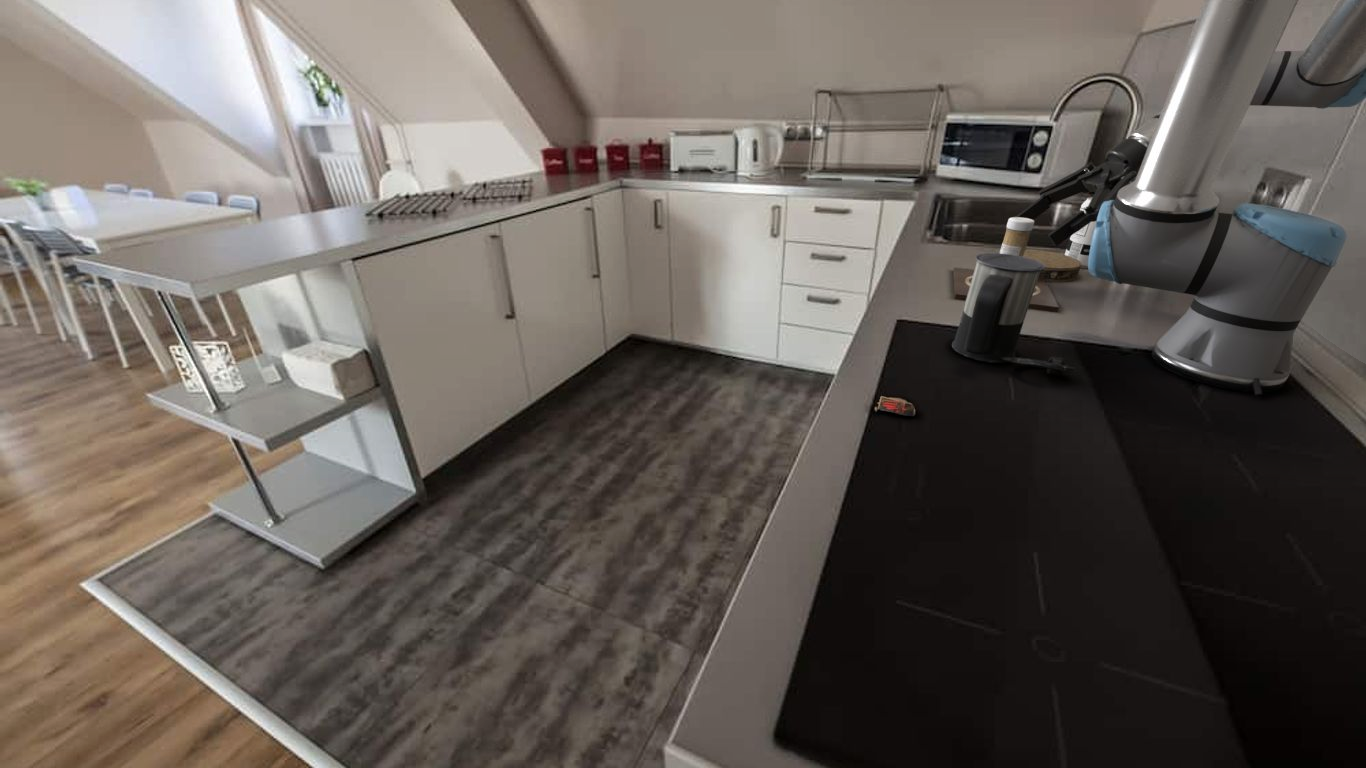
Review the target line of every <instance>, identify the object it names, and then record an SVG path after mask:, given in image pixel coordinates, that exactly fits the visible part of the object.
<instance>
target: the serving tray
mask: <svg viewBox="0 0 1366 768" xmlns="http://www.w3.org/2000/svg"><path fill="white" fill-rule="evenodd" d="M974 270H975V269H972V268H963V267H953V270H952V273H953V274H952V275H953V291H954V293H953V294H954V300H962V301H966V299H967V295H968V292H969V288H970V284H971V281H972V277H973V274H974ZM1028 309H1032V310H1037V311H1046V312H1052V313H1053V312H1054V313H1058V312H1059V309H1060V305H1059V304H1058V301H1057V300H1056V297H1055V296H1054V294H1053V293H1052V291H1051V288H1050V287H1049V285H1048V283H1047V281H1045V279H1044V278H1042V277H1038V280H1037V283H1036V286H1035V289H1034V293H1033V295H1032V298H1031V301H1030V304H1029V307H1028Z"/></svg>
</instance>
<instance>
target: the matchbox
mask: <svg viewBox="0 0 1366 768" xmlns="http://www.w3.org/2000/svg"><path fill="white" fill-rule="evenodd" d="M879 398H880V399H879V402H877V404H878V406H875V407H874V411H875V412H877V411H878V410H880V411H883V412H884V411H885V412H891V413H894V414H898V415H903V416H908V417H909V416H910V417H914V416H915V415H916V409H915V406H914V405H913V403H911V402H908V401H907V400H906V399H902V398H901V397H886V396H882V395H881V396H880V397H879Z"/></svg>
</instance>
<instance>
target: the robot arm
mask: <svg viewBox="0 0 1366 768" xmlns="http://www.w3.org/2000/svg"><path fill="white" fill-rule="evenodd" d="M1298 3H1299V0H1203V1H1202V4H1201V6H1200V9H1199V12H1198V14H1197V17H1196V19H1195V22H1194V25H1193V27H1192V30H1191V32H1190V35H1189V37H1188V40H1187V43H1186V46H1185V49H1184V51H1183V54H1182V56H1181V59H1180V61H1179V64H1178V66H1177V69H1176V71H1175V75H1174V77H1173V80H1172V83H1171V86H1170V88H1169V90H1168V93H1167V96H1166V99H1165V101H1164V104H1163V106H1162V109H1161V111H1159V112H1158V113H1157V114H1156V115H1154V116H1153V117H1152V118H1149V119H1148V120H1146V122H1144V123H1143V124H1142V125H1141V126H1139V127H1138V128H1137V129H1135V130H1134V131H1132V132H1131V133H1130V134H1129V135H1128V136H1127V138H1124V139H1122V140H1121V141H1120V142H1118V143H1117V144H1116V145H1115V146H1113V147H1112V148H1110V149H1109V150H1108V151H1107V152H1106V154H1105V161H1104V162H1103V163H1101V164H1100V165H1098V166H1095V164H1094V163H1093V162H1092V161H1090V162H1087V164H1085V165H1083V166H1082V167H1081V168H1079V169H1078V170H1076V171H1074V172H1072V173H1070V174H1069V175H1066V176H1064V177H1063V178H1060V179H1059V180H1057V181H1055V182H1053V183H1051V184H1049V185H1047V186H1045V187H1044V188H1041V189H1040V190H1039V191H1038V194H1039V198H1038V199H1037V200H1035V201H1034V202H1033V203H1031V204H1030V205H1029V206H1028V207H1027V208H1025V209H1024V210H1023V211H1021V212H1020V213H1018V214H1017V215H1016V216H1015V217H1022V218H1028V219H1032V220H1034V221H1035V220H1036V218H1038V217H1039V216H1040V215H1042V214H1044V212H1046V211H1047V210H1049V209H1051V207H1052V205H1053V204H1055V203H1058V202H1060V201H1063V200H1065V199H1068V198H1071V197H1074V196H1076V195H1079V194H1081V193H1084V194H1087V193H1090V192H1092V193H1094V194H1093V196H1092V197H1093V198H1092V200H1091V202H1090V203H1089V205H1088V206H1087V207H1086V208H1085V207H1084V210H1085V211H1086V213H1084V211H1082V210H1081V211H1080V210H1079V211H1078V212H1077V213H1075V214H1074V215H1072V216H1071V217H1069V218H1068V219H1067V220H1065V221H1064V222H1063V223H1062V224H1060V225H1058V227H1055V229H1054V230H1052V231H1050V232H1049V233H1047V236H1048V238H1049V239H1050V241H1051V243H1052V244H1053V246H1055V247H1058V246H1059V245H1061V244H1062V243H1063V242H1065V241H1066V240H1067V239H1070V237H1071V236H1072V235H1073V234H1074V233H1076V232H1077V231H1079V230H1080V229H1082V228H1083V227H1085V226H1086V225H1087V224H1089V223H1090V222H1095V221H1097V223H1096V226H1095V229H1094V233H1093V237H1092V242H1091V247H1090V253H1089V260H1088V268H1087V269H1088V272H1089V273H1090V275H1091V276H1092V277H1094V278H1096V279H1101V280H1106V281H1110V282H1115V283H1116V284H1117V285H1122V284H1124V285H1130V286H1137V287H1141V288H1142V287H1143V288H1149V289H1155V290H1162V291H1168V292H1172V293H1173V292H1174V293H1180V294H1185V295H1192V296H1194V297H1193V300H1192V301H1191V304H1190V306H1189V307H1188V309H1187V311H1186V312H1185V313H1184V314H1183V315H1182V316H1181V317H1180V318H1179V319H1178V320H1177V321H1176V322H1175V323H1174V324H1173V325H1172V326H1171V327H1170V328H1169V329H1168V330H1167V331H1166V332H1165V333H1164V334H1163V335H1162V337H1160V338H1159V340H1157V341H1156V343H1155V346H1154V348H1153V350H1152V352H1151V357H1152V359H1153V360H1154V361H1155V362H1156V363H1157V364H1159V365H1160V366H1162V367H1163V368H1165V369H1167V370H1168V371H1171V372H1173V373H1175V374H1177V375H1179V376H1181V377H1185V378H1186V379H1190V380H1192V381H1196V382H1199V383H1202V384H1205V385H1210V386H1213V387H1218V388H1221V389H1227V390H1234V391H1239V392H1240V391H1241V392H1248V393H1249V392H1250V393H1254V395H1255V396H1262V395H1264V394H1263V393H1269V392H1276V391H1279V390H1280V389H1281V388H1283V387H1284V385H1285V383H1286V381H1287V380H1288V378H1289V376H1290V371H1291V369H1290V368H1291V360H1292V350H1293V339H1294V334H1295V331H1296V330H1297V328H1298V327H1299V325H1300V322H1301V321H1302V319H1303V317H1304V316H1305V315H1306V313H1307V311H1308V309H1309V307H1310V305H1312V303H1313V300H1314V299H1315V297H1316V295H1317V294H1318V292H1319V290H1320V288H1321V287H1322V286H1323V283H1324V282H1325V280H1326V279H1327V277H1328V275H1329V273H1330V271H1331V270H1332V268H1334V267H1336V265H1337V263H1338V261H1337V260H1338V259H1339V257H1340V254H1341V252H1342V250H1343V248H1344V245H1345V243H1346V241H1347V237H1348V236H1347V231H1346V229H1344V228H1343V227H1342V226H1341V225H1340V224H1338V223H1336V222H1334V221H1332V220H1329V219H1325V218H1322V217H1318V216H1315V215H1311V214H1308V213H1304V212H1300V211H1295V210H1290V209H1287V208H1282V207H1277V206H1271V205H1266V204H1256V203H1250V202H1249V203H1248V202H1247V203H1244V202H1243V203H1241V204H1239V205H1238V206H1237V207H1235V208H1234V209H1233V211H1232V213H1228V212H1227V213H1226V212H1218V211H1216V210H1217V208H1218V206H1219V205H1220V197H1219V196H1218V195H1217V194H1216V192H1215V191H1214V189H1213V184H1214V183H1215V180H1216V178H1217V177H1218V174H1219V172H1220V170H1221V169H1222V165H1223V164H1224V161H1225V159H1226V157H1227V155H1228V153H1229V151H1230V148H1231V146H1232V144H1233V142H1234V140H1235V138H1236V135H1237V134H1238V131H1239V129H1240V127H1241V125H1242V122H1243V120H1244V119H1245V117H1246V114H1247V112H1248V110H1249V108H1250V106H1256V107H1257V106H1262V107H1265V106H1266V107H1293V108H1316V109H1322V110H1325V109H1328V108H1350V107H1351V108H1352V107H1355V106H1357V105H1359V104H1360V103H1363V101H1365V100H1366V0H1336V2H1335V4H1334V5H1333V7H1332V8H1331V10H1330V11H1329V12H1328V13H1327V15H1326V17H1325V19H1324V20H1323V22H1322V23H1321V25H1320V26H1319V27H1318V29H1317V30H1316V32H1315V33H1314V35H1313V36H1312V37H1311V39H1310V41H1309V43H1308V44H1307V46H1306V47H1305V48H1304V49H1303V50H1283V51H1282V50H1281V51H1280V50H1279V51H1278V50H1277V48H1278V46H1279V43H1280V41H1281V40H1282V38H1283V36H1284V35H1283V34H1284V32H1285V31H1286V28H1287V26H1288V24H1289V22H1290V20H1291V18H1292V15H1293V13H1294V11H1295V9H1296V7H1297V5H1298Z"/></svg>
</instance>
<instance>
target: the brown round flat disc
mask: <svg viewBox="0 0 1366 768" xmlns="http://www.w3.org/2000/svg"><path fill="white" fill-rule="evenodd" d="M1023 257H1026V258H1030V259H1033V260H1036V261H1038V262H1041V263H1042V264H1043V265H1044V269H1042V270H1041V271H1040V274H1039V277H1042V278H1044V279H1045V281H1046V282H1055V283H1057V282H1058V283H1060V282H1062V283H1063V282H1070V281H1074V280H1076V279H1077V278H1078V275H1079V273H1080V270H1081V268H1080V267H1081V262H1080V261H1078V260H1077V259H1075V258H1072V257H1070V256H1066V255H1065V254H1062V253H1058V252H1054V251H1047V250H1042V249H1041V250H1040V249H1031V248H1029V249H1028V248H1026V249H1025V252H1024V255H1023Z"/></svg>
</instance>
